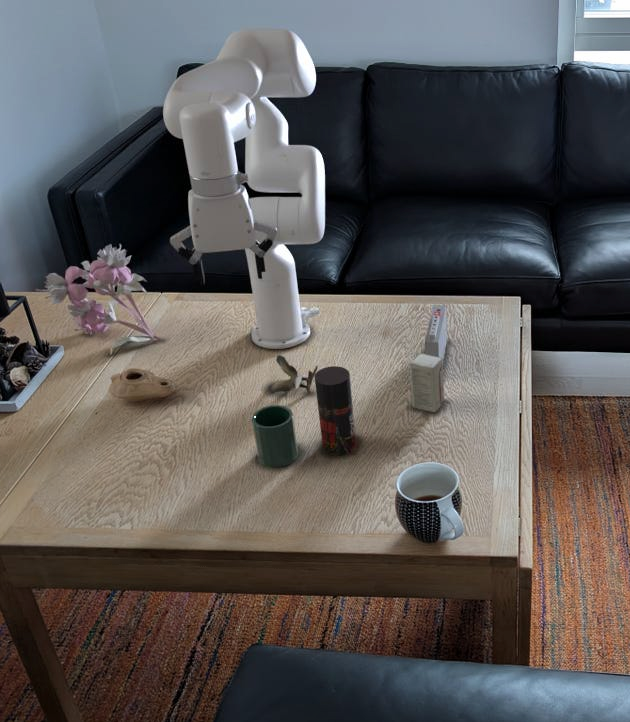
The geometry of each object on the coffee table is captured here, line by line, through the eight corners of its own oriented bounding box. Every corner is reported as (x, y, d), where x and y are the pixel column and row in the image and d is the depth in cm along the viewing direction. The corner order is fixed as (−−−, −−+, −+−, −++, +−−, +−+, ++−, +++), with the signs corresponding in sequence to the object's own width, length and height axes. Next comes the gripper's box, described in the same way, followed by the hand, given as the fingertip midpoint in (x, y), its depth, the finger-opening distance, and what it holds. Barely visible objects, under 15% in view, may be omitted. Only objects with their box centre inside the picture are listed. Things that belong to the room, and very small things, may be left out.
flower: (171, 297, 195) (98, 213, 180) (195, 329, 177) (116, 238, 163) (99, 350, 191) (18, 269, 176) (116, 388, 173) (28, 301, 158)
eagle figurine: (321, 373, 168) (279, 361, 168) (316, 359, 161) (272, 346, 162) (307, 407, 165) (264, 395, 165) (301, 394, 158) (257, 381, 159)
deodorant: (324, 436, 152) (315, 366, 144) (356, 434, 152) (350, 365, 144) (321, 456, 147) (313, 385, 139) (355, 454, 147) (348, 384, 139)
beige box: (445, 401, 162) (444, 357, 156) (434, 413, 158) (433, 368, 153) (421, 395, 163) (420, 351, 158) (410, 407, 160) (408, 362, 155)
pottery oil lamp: (166, 411, 157) (140, 388, 153) (122, 416, 163) (96, 394, 158) (185, 375, 163) (161, 352, 158) (143, 381, 168) (118, 359, 164)
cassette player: (434, 341, 181) (433, 300, 176) (446, 342, 181) (446, 301, 176) (425, 380, 168) (424, 337, 163) (439, 380, 168) (438, 337, 163)
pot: (281, 439, 151) (276, 400, 147) (305, 454, 147) (300, 415, 143) (250, 456, 147) (243, 417, 142) (274, 472, 143) (268, 433, 138)
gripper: (269, 171, 139) (281, 264, 148) (160, 180, 135) (179, 275, 144) (271, 186, 133) (284, 282, 142) (158, 195, 129) (178, 294, 138)
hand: (231, 278), depth 143 cm, fingers open, 9 cm apart
